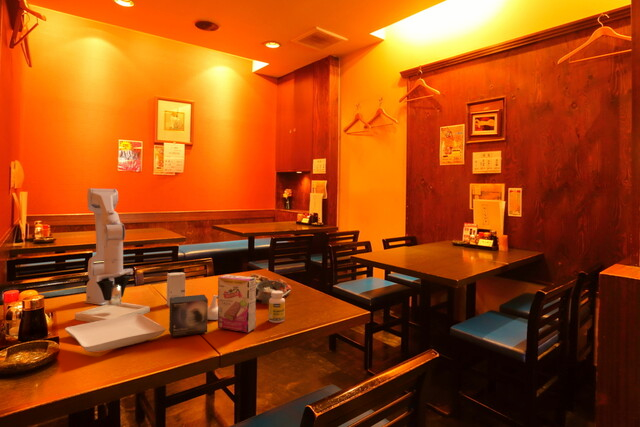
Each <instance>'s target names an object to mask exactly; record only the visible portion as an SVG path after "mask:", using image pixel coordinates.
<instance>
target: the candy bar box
mask: <svg viewBox="0 0 640 427" xmlns="http://www.w3.org/2000/svg"><path fill="white" fill-rule="evenodd" d="M217 283H218V284H217V295H218V298H217V306H218V320H217V328H218V329H221V330H223V329H224V330H228V331H234V332H235V331H236V332H239V333H247V334H248V333H250V332H251V331H253V330H255V329H256V322H257V321H256V320H257V319H256V317H257V316H256V315H257V314H256V310H257V307H256V304H257V303H256V278H254V277H251V276H249V277H248V276H243V275H235V274H234V275H233V274H224V275H221V276H219V277H218V281H217Z"/></svg>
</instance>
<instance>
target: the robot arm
mask: <svg viewBox="0 0 640 427" xmlns="http://www.w3.org/2000/svg"><path fill="white" fill-rule="evenodd" d="M86 194H87V195H86V196H87V198H86V199H87V208H88V210H89V212H92V213H93V215H94V219H95V220H94V223H95V227H94V228H95V253H96V254H94V255H93V256H92V257H90V258H89V260H88V262H87V263H88V264H87V265H88V266H87V276H88V279H89V280H88V281H87V283H86V288H85V289H86V290H85V291H86V292H85V294H86V296H85V297H86V298H85V299H86V300H84V301H83V302H84V304H85V303H87V304H94V305H99V306H103V305H106V304H107V301H110V300H111V289H112V285H113V284H121V298H123V297H124V293H125V290H126V287H127V285H128V283H129V281H130V280H131V276H130V275H133V274H134V269H133V268H124V241H125V239H126V228H125V224H124V223H122V222H121V219H120V217H119V213H118V212H117V211H115V209H116V207H117V205H118V203H119V202H118V201H119V192H118V190H117V189H116V188H91V187H89V188H88V189H87V192H86Z"/></svg>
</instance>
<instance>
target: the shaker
mask: <svg viewBox="0 0 640 427" xmlns="http://www.w3.org/2000/svg"><path fill="white" fill-rule="evenodd" d="M121 302H122V297H121V284H115V283H114V284H113V285H112V289H111V300H110V301H107V305H118V304H121Z"/></svg>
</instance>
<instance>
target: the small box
mask: <svg viewBox="0 0 640 427" xmlns="http://www.w3.org/2000/svg"><path fill="white" fill-rule="evenodd" d="M208 301H209V299H208V297H207V296H206V295H205V294H195V295H185V296H182V297H171V298H170V307H169V319H168V320H169V322H168V323H169V324H168V325H169V326H168V331H169V334H170V337H171V338H176V337H183V336H188V335H189V336H190V335H198V334H204V333H208V307H209V304H208V303H209V302H208Z"/></svg>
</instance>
